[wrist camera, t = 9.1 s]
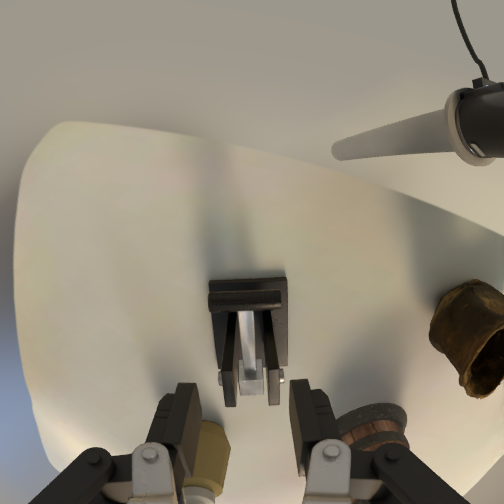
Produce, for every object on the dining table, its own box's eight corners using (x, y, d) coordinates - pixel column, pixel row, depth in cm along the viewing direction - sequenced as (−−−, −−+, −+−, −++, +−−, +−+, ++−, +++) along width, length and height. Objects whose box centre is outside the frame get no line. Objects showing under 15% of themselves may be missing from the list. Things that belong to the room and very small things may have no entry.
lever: (209, 283, 22) (206, 307, 20) (279, 280, 22) (282, 303, 20) (226, 375, 29) (225, 396, 27) (276, 373, 29) (278, 393, 27)
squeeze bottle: (211, 451, 44) (201, 538, 27) (172, 429, 43) (150, 518, 25) (242, 431, 43) (240, 526, 25) (201, 407, 41) (184, 506, 24)
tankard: (357, 393, 41) (401, 496, 22) (423, 411, 43) (470, 489, 24) (279, 473, 46) (287, 561, 27) (347, 484, 48) (367, 557, 29)
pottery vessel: (384, 329, 38) (457, 425, 19) (414, 254, 36) (520, 319, 16) (488, 346, 40) (553, 406, 21) (513, 290, 37) (590, 338, 18)
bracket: (209, 280, 36) (191, 333, 24) (286, 276, 36) (304, 328, 24) (218, 363, 39) (209, 432, 27) (286, 361, 39) (299, 429, 27)
